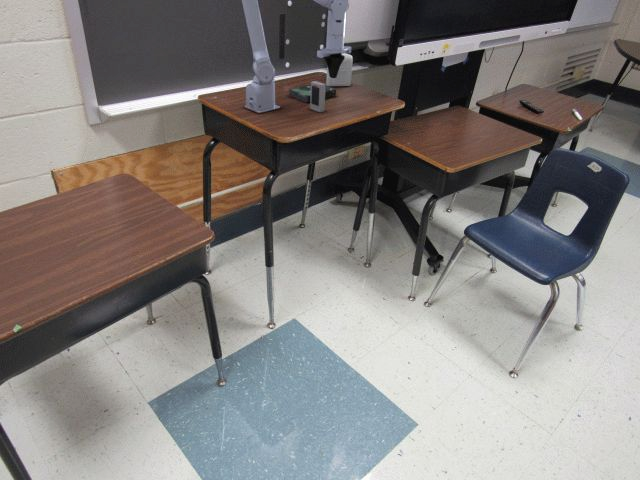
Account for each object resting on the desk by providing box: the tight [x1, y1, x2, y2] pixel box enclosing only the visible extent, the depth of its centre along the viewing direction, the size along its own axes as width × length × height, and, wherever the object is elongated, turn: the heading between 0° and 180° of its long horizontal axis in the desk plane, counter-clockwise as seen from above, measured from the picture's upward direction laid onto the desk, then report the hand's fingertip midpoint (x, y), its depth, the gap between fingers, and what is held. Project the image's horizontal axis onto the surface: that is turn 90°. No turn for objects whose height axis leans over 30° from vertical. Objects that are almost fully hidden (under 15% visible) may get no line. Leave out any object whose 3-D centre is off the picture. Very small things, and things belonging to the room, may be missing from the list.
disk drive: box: [288, 84, 337, 103], centre depth 167 cm, size 10×3×15 cm
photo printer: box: [325, 53, 354, 87], centre depth 179 cm, size 10×4×12 cm, turn 109°
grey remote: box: [309, 80, 327, 113], centre depth 152 cm, size 2×5×9 cm, turn 45°
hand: (332, 77), depth 154 cm, fingers closed
